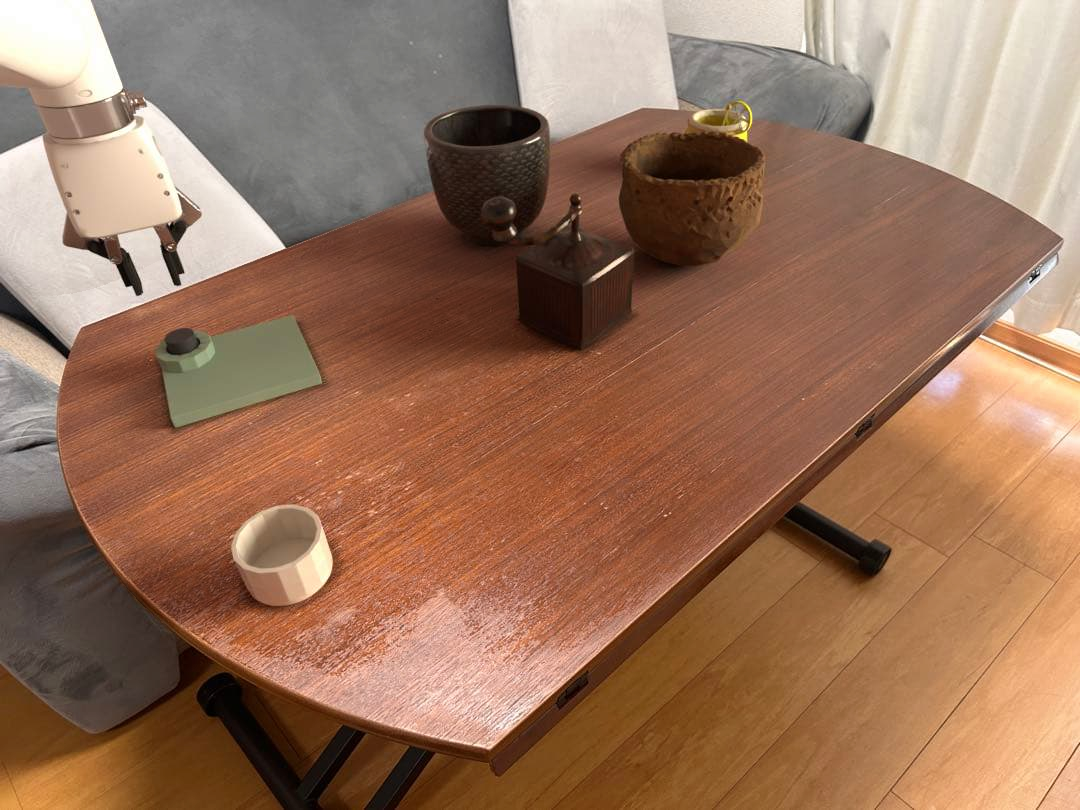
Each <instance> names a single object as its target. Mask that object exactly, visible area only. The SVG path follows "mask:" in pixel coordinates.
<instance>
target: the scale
mask: <svg viewBox="0 0 1080 810" xmlns="http://www.w3.org/2000/svg"><path fill="white" fill-rule="evenodd" d="M193 331H194V334H195V337H196V339H197V342H198V347H197V348H196V349H195V350H193V351H191V352H190V353H186V354H183V355H172V354H171V353H170V352H169V349H168V347H167V345H166V342H165V338H164V339H163V340H161V341H160V342H159V344H157V346H156V347H155V348H154V353H155V358H156V360H157V362H158V365H159V366H160V368H161V373H162V378H163V379H162V380H163V384H164V389H165V396H166V400H167V407H168V411H169V417H170V420H171V423H172V425H173V427H174V428H175V429H177V428H179V427H183V426H186V425H190V424H193V423H196V422H200V421H203V420H207V419H210V418H214V417H216V416H219V415H222V414H227V413H230V412H233V411H235V410H239V409H243V408H246V407H248V406H252V405H255V404H259V403H262V402H266V401H269V400H273V399H276V398H279V397H282V396H286V395H288V394H292V393H295V392H298V391H302V390H305V389H309V388H312V387H315V386H319V385H322V384H323V381H322V377H321V374H320V371H319V369H318V367H317V365H316V363H315V360H314V359H313V358H314V357H313V356H312V354H311V351H310V349H309V346H308V345H307V343H306V340H305V338H304V335H303V334H302V331H301V329H300V327H299V325H298V323H297V320H296V318H295V315H294V314H290V315H287V316H283V317H280V318H275V319H272V320H268V321H263V322H261V323H257V324H254V325H249V326H246V327H242V328H238V329H234V330H231V331H226V332H224V333H219V334H216V335H212V336H210V334H208V333H206V332H205V331H202V330H193Z"/></svg>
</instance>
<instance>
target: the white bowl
mask: <svg viewBox="0 0 1080 810" xmlns="http://www.w3.org/2000/svg"><path fill="white" fill-rule="evenodd" d="M230 550H231V555H232V560H233V561H234V564H235V566H236V569H237V570H238V574H239V575H240V577H241V580H242V582H243V583H244V586H245V587H246V590H247V591H248V592H249V594H250V595H251V596H252V598H253V599H255V600H256V601H258V602H260V603H261V604H264V605H267V606H272V607H285V606H291V605H294V604H295V605H296V604H298V603H301V602H302V601H305V600H307V599H308V598H311V597H312V596H313V595H314V594H316V593H317V592H318V591H319V590H321V589H322V587H323V586H324V585H325V584H326V582H327V581H328V580H329V578H330V575H331V574H332V570H333V564H334V562H333V555H332V552H331V549H330V546H329V543H328V540H327V537H326V533H325V531H324V528H323V525H322V522H321V520H320V516H319V515H318V514H317V513H315V512H314V511H312V509H310V508H309V507H307V506H302V505H298V504H294V503H293V504H291V503H290V504H280V505H279V504H278V505H275V506H272V507H269V508H266V509H263V510H260V511H258V512H257V513H256V514H254V515H252V516H251V517H249V518H248V519H246V520H245V521H244V522H243V523H242V524H241V526H240V527H239V528H238V529H237V531H236V532H235V533H234V536H233V539H232V542H231V545H230Z"/></svg>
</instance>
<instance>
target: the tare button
mask: <svg viewBox="0 0 1080 810" xmlns="http://www.w3.org/2000/svg"><path fill="white" fill-rule="evenodd" d="M194 331H195V330H193V329H191V328H189V327H181V328H180V327H179V328H176V329H173V330H171V331H169V332H167V334H166V335H165V336H164V339H165V342H166V345H167V347H168V349H169V352H170V353H171V354H172V355H183V354H186V353H190V352H191V351H193V350H195V349H196V348H197V347H198V342H197V339H196V337H195V334H194Z"/></svg>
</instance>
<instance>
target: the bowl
mask: <svg viewBox="0 0 1080 810" xmlns="http://www.w3.org/2000/svg"><path fill="white" fill-rule="evenodd" d="M619 161H621V163H622V168H621V174H622V183H621V187H620V190H619V195H618V206H619V210H620V213H621V217H622V220H623V223H624V226H625V229H626V231H627V233H628V235H629V236H630V237H631V239H632V241H633V242H634V243H635V244H636V245H637V247H639V249H640V250H642V251H643V252H644V253H645V254H648V255H650V256H652V257H654V258H656V259H657V260H660V261H661V262H664V263H665V264H666V263H667V264H671V265H679V266H686V267H687V266H688V267H690V266H703V265H704V266H705V265H711V264H713V263H716V262H718V261H720V260H722V259H724V258H725V257H726V256H728V255H729V254H731V253H732V252H733V251H735V250H736V249H737V248H738V247H739V246H740V245H741V244H742V243H744V241H745V240H747V238H748V237H749V236H751V234H752V233H753V232H754V231H755V229H756V228H757V227H758V226H759V225H760V222H761V216H762V212H763V205H764V196H763V195H764V194H763V183H764V177H765V176H764V175H765V167H766V156H765V154H764V153H763V152H762V150H761V149H760V148H759V147H758V146H754V145H752V144H750V143H749V142H748V141H747V142H746V141H745V140H744V139H740V138H739V137H734V136H733V134H732V135H727V134H726V133H725V132H724V133H718V132H709V131H702V132H701V133H687V134H685V133H682V132H679V131H676V132H671V133H667V132H662V133H660V132H655V133H649V134H646V135H643V136H642V137H638V138H636V140H633V142H630V143H628V144H627V146H626V147H625V148H624V149H623V150H622V152H621V153H620V156H619Z"/></svg>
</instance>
